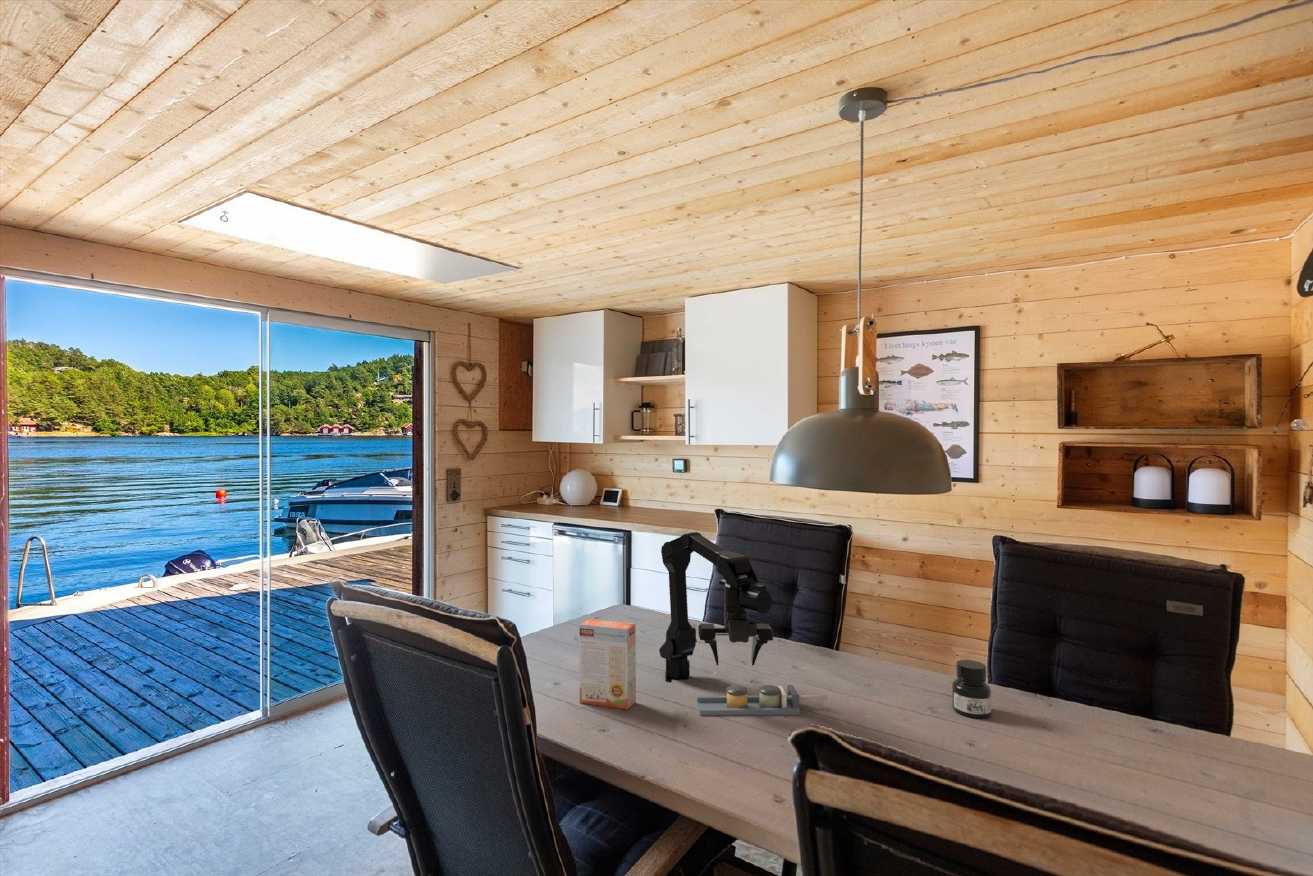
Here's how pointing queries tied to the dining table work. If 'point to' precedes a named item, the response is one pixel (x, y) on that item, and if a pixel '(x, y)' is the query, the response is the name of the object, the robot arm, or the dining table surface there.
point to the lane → (719, 705)
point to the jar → (736, 696)
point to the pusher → (801, 697)
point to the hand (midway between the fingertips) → (735, 665)
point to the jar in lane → (769, 696)
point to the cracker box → (607, 663)
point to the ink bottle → (971, 690)
